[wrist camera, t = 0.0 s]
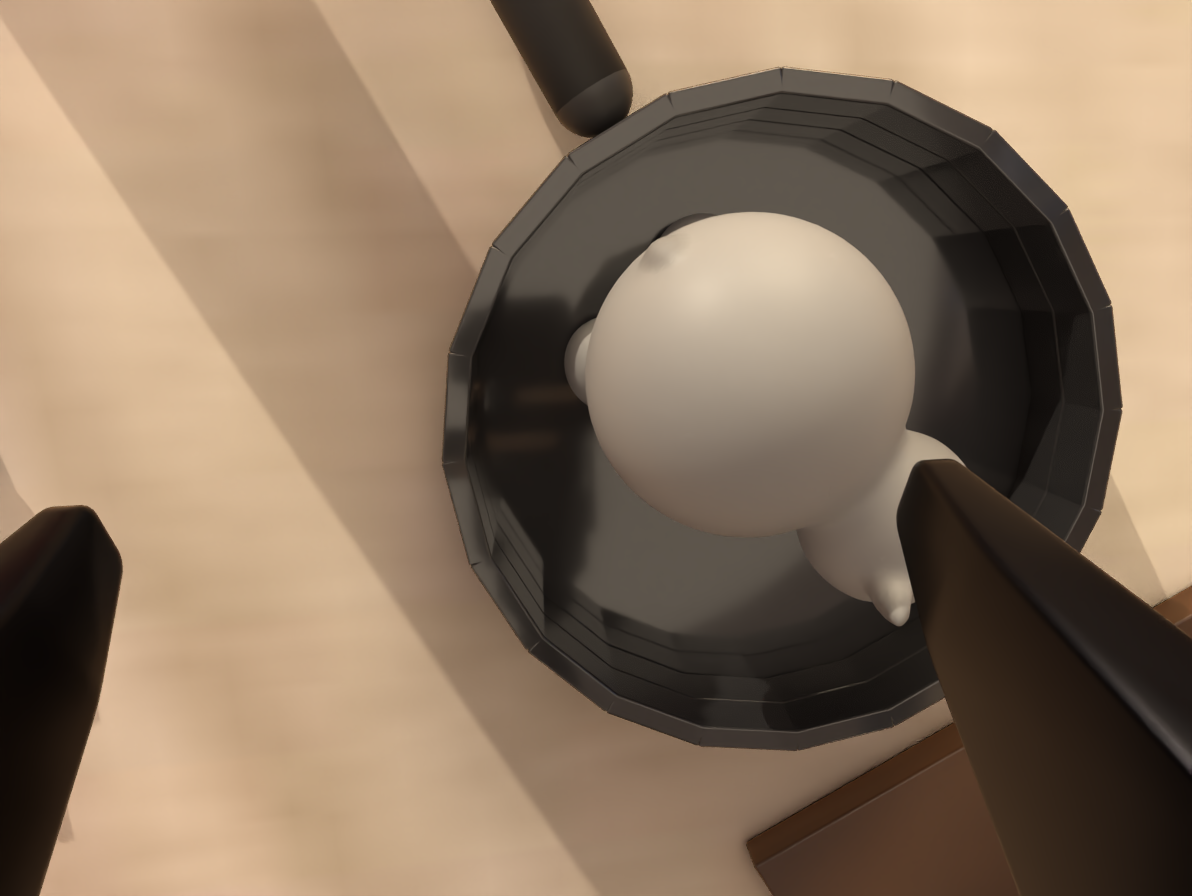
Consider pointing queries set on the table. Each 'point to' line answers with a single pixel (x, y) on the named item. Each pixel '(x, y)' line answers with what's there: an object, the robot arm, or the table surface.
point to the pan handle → (570, 61)
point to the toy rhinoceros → (762, 393)
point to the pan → (778, 563)
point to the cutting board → (902, 826)
